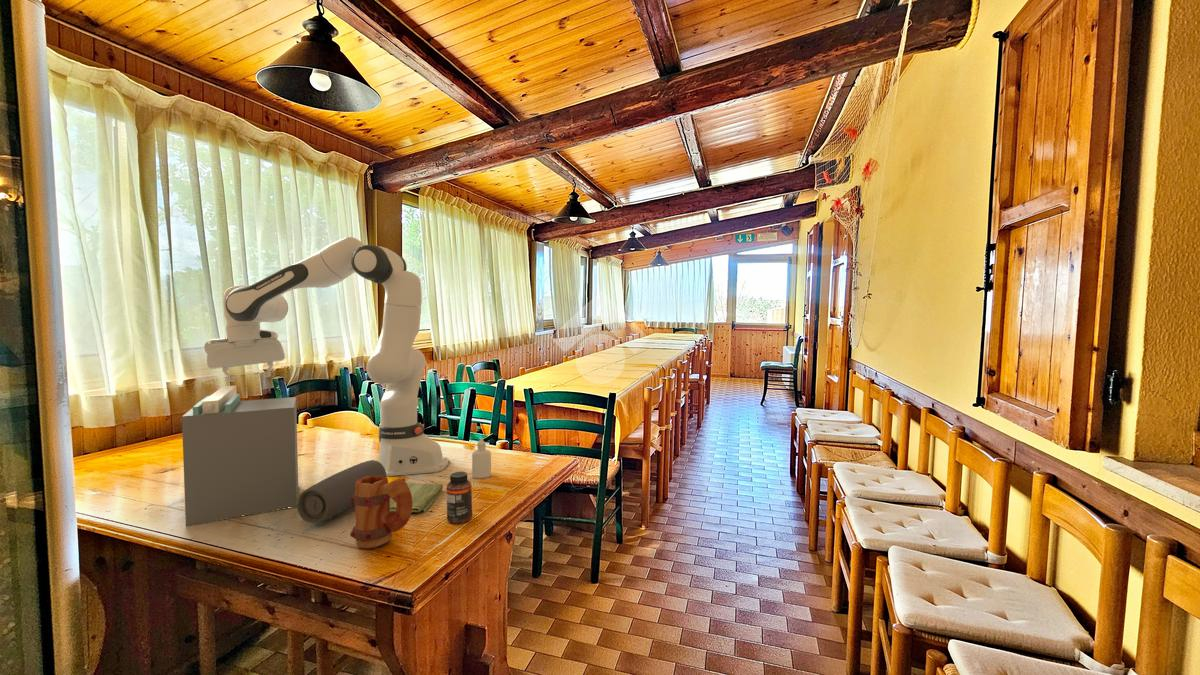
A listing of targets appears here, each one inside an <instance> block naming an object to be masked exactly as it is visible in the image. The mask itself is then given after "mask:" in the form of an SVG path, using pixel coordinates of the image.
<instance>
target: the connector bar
mask: <svg viewBox="0 0 1200 675" xmlns="http://www.w3.org/2000/svg"><path fill="white" fill-rule="evenodd" d="M235 394H238V393H237V385H222V387H220V388H219V389H217V390H216V391H215V392H213V393H212V394H210V395H208V396H209V397H208V398H206V399H205V400H204V401H202V408H203V414H209V413H219V412H220V411H221V410H222V409H223V408H224V407H225V404H226V403H227V402H228V401H229V400H230V399H231V398H232V397H233V396H234V395H235Z"/></svg>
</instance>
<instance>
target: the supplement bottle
mask: <svg viewBox="0 0 1200 675" xmlns="http://www.w3.org/2000/svg"><path fill="white" fill-rule="evenodd" d="M449 480H450V481H449V482H448V483H447V484H446V489H445V492H446V495H445V497H446V521H448V523H451V524H464V523H466V522H469V521H470V520H471V519H472V517H473V494H472V492H473V491H472V486H473V485H472V483H471V481H470V480H468V472H466V471H463V470H462V471H455V472H452V473H451V474H450V475H449Z"/></svg>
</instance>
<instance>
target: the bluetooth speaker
mask: <svg viewBox="0 0 1200 675" xmlns="http://www.w3.org/2000/svg"><path fill="white" fill-rule="evenodd" d="M366 476H374V477H376V476H384V477H387V478H388V476H387V475H386V471H385V469H384V467H383V465H382V464H381V463H380V462H378V460H375V459H372V460H371V459H370V460H366V461H363V462H360V463H357V464H355V465H353V466H351V467H347V468H346V469H344V470H341V471H339V472H336V473H334V474H332V475H331V476H329V477H326V478H324V479H322V480H320V481H319V482H317V483H315V484H313V485H311V486H309V487H308V488H306V489H305V490H304V491H302V492H301V493H300V495H299V497H297V507H296V510H297V513H298V516H300V518H301V519H302V520H303V521H305V522H306V523H309V524H318V523H321V522H325V521H326V520H329V519H330V518H333V519H336V518H339V517H341V516H343V515H345V514H347V513H349V512H350V511H352V510H355V504H353V503H351V502H350V499H351V498H352V497H353V494H354V493H355V483H356V481H357V479H361V478H362V477H366Z"/></svg>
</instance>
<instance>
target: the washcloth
mask: <svg viewBox="0 0 1200 675" xmlns="http://www.w3.org/2000/svg"><path fill="white" fill-rule="evenodd" d="M405 482H406V484H407V485H408V487H409V489H410V491H411V495H412V501H413V502H412V512H411V514H412V513H415V514H416V513H420V514H425V513H426V512H428V510H429V509H430V507H432V505H433V504H434V502H435V501H436V500H437V499H438V498H439V497H440V495H441V493H442V492H443V488H444V484H443V483H438V482H433V483H431V482H429V483H428V482H425V483H420V482H419V483H418V482H415V481H414V482H409V481H405ZM396 504H397V503H396V502H395V501H394V500H393V499H392V498H390V512H391V513H393V514H395V512H396Z"/></svg>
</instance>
